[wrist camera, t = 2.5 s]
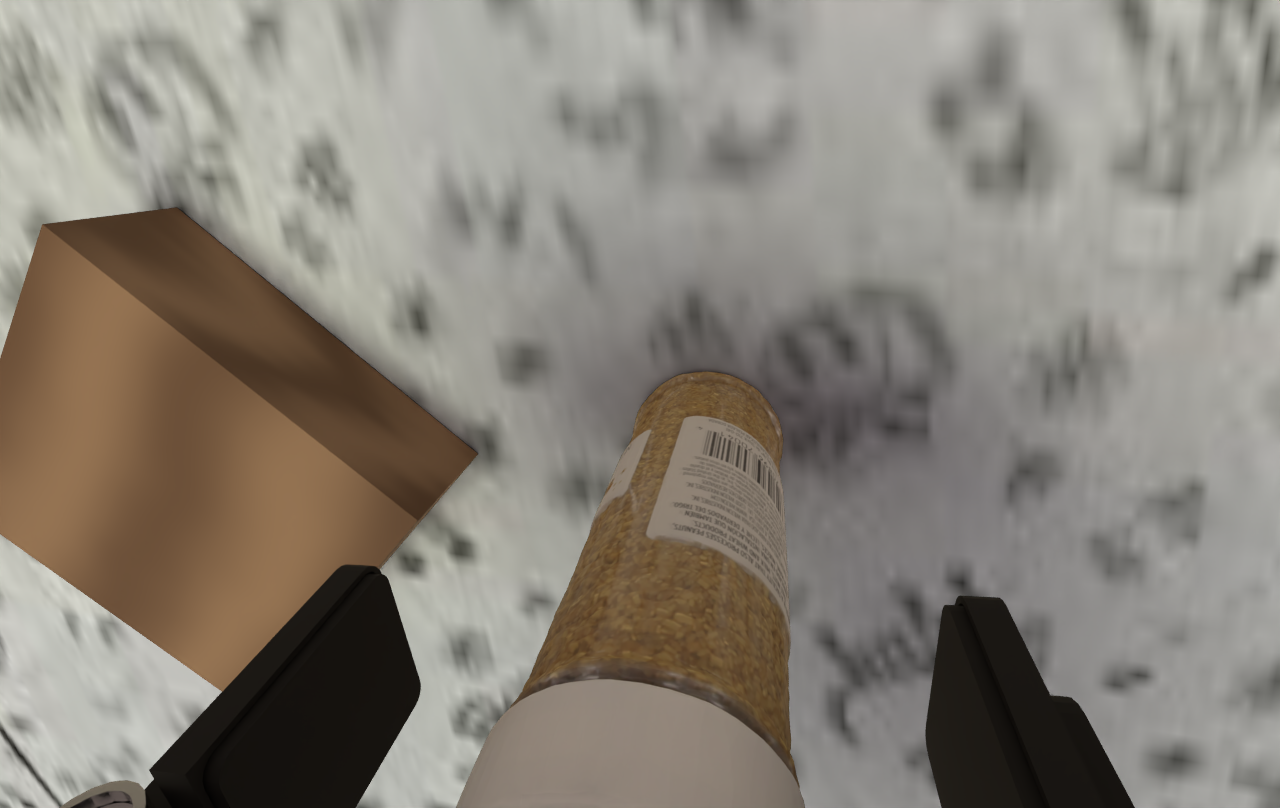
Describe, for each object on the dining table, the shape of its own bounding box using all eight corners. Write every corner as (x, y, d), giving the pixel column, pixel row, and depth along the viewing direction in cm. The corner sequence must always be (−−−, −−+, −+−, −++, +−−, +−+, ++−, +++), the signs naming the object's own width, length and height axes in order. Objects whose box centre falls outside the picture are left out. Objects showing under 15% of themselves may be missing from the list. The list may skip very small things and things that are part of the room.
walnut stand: (478, 454, 21) (417, 520, 17) (325, 633, 26) (253, 713, 22) (176, 207, 20) (42, 224, 16) (75, 447, 24) (-45, 501, 21)
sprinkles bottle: (608, 409, 19) (344, 864, 7) (738, 339, 18) (672, 778, 6) (685, 521, 21) (564, 1079, 8) (813, 466, 19) (892, 1058, 7)
